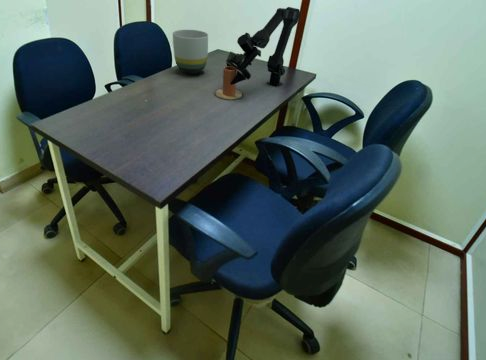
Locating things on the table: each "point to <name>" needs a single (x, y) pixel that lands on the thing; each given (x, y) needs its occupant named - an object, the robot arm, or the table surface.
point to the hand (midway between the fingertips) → (226, 81)
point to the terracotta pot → (229, 80)
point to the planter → (190, 50)
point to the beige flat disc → (221, 95)
